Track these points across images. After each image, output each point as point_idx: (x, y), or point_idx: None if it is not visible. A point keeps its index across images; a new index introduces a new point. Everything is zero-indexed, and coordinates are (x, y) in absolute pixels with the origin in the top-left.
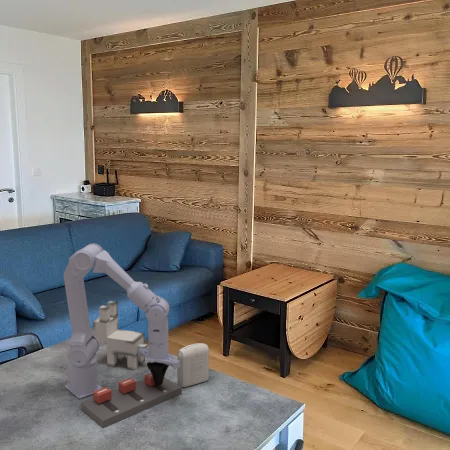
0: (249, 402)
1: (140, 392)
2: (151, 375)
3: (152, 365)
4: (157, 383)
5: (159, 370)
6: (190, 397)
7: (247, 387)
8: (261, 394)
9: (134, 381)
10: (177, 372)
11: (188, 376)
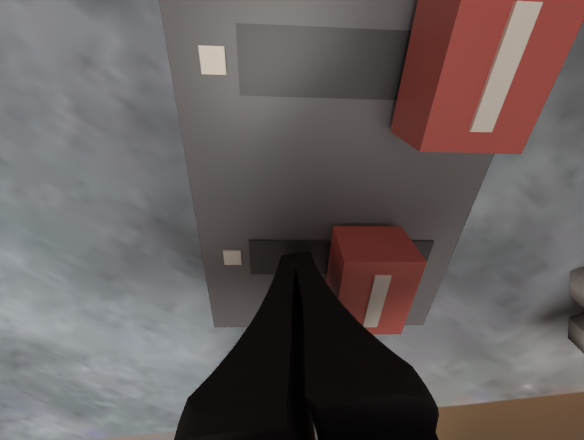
0: (22, 401)
1: (335, 136)
2: (376, 292)
3: (315, 415)
4: (278, 265)
5: (202, 390)
6: (166, 306)
7: (123, 432)
8: (60, 434)
9: (430, 141)
10: None
11: None
